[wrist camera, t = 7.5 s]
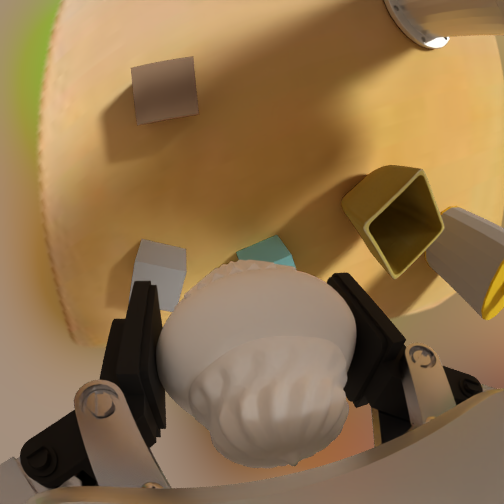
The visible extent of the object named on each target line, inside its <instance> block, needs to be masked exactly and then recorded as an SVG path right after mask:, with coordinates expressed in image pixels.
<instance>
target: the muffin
mask: <svg viewBox="0 0 504 504" xmlns="http://www.w3.org/2000/svg"><path fill="white" fill-rule="evenodd" d="M174 309H175V310H174V311H173V312H172V314H171V315H170V316H169V318H168V319H167V321H166V323H165V325H164V326H163V328H162V331H161V333H160V336H159V339H158V343H157V347H156V365H157V371H158V376H159V379H160V381H161V383H162V385H163V387H164V389H165V390H166V392H167V393H168V394H169V395H170V397H171V398H172V399H173V400H174V401H175V402H176V403H177V404H178V405H179V406H180V407H181V408H183V409H184V410H185V411H186V412H188V413H189V414H190V415H192V416H193V417H195V419H196V420H197V421H198V422H199V423H201V424H202V425H203V426H205V427H206V428H207V429H208V430H209V431H210V435H211V439H212V443H213V445H214V447H215V448H216V450H217V451H218V452H219V453H221V454H222V455H223V456H224V457H225V458H227V459H229V460H231V461H233V462H235V463H238V464H242V465H244V466H247V467H252V468H261V467H262V468H273V467H277V466H286V465H287V464H290V465H291V466H296V465H297V464H298V462H299V461H301V460H302V459H304V458H308V457H311V456H313V455H314V454H315V453H316V452H319V451H321V450H323V449H324V448H326V447H327V446H328V445H329V444H330V443H331V442H332V441H333V440H335V439H336V438H337V436H338V435H339V434H340V432H341V431H342V428H343V424H344V423H345V421H346V419H347V416H348V412H349V405H348V403H347V401H346V394H345V391H344V390H343V388H344V387H345V385H346V382H347V372H348V370H349V367H350V364H351V361H352V358H353V355H354V351H355V346H356V337H357V330H356V323H355V319H354V316H353V314H352V312H351V310H350V308H349V306H348V305H347V303H346V302H345V300H344V299H343V298H342V297H341V296H340V295H339V293H338V292H337V291H336V290H334V289H333V288H332V287H331V286H330V285H328V284H327V283H326V282H324V281H323V280H321V279H319V278H317V277H315V276H313V275H310V274H308V273H305V272H301V271H297V270H296V268H295V267H292V266H286V265H279V264H274V263H273V262H266V261H257V260H246V261H245V260H238V261H237V262H233V261H230V262H229V264H222V265H221V266H220V268H215V269H214V270H213V271H211V272H210V273H209V274H208V275H207V276H205V277H204V278H203V279H202V280H201V281H200V282H198V283H197V284H196V285H195V286H194V287H193V288H191V289H190V290H189V291H188V292H187V293H185V295H184V299H182V300H181V301H180V302H179V303H178V304H177V305H176V306H175V307H174Z"/></svg>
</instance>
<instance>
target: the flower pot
mask: <svg viewBox="0 0 504 504" xmlns="http://www.w3.org/2000/svg"><path fill="white" fill-rule="evenodd" d="M341 206H342V209H343V211H344V212H345V214H346V215H347V217H348V218H349V219H350V221H351V222H352V224H353V225H354V227H355V228H356V230H357V231H358V233H359V234H360V236H361V237H362V239H363V240H364V242H365V244H366V245H367V247H368V249H369V250H370V252H371V253H372V255H373V256H374V257H375V258H376V259H377V261H378V262H379V263H380V264H381V265H382V266H383V268H384V269H385V270H386V271H387V272H388V274H389V275H390V276H391V277H392V278H393V279H397V278H398V277H399V276H400V275H402V274H403V273H404V272H405V271H406V270H407V269H408V268H409V267H410V266H411V265H412V264H413V263H414V262H415V261H416V260H417V258H418V257H419V256H420V255H421V254H422V253H423V252H424V251H425V250H426V249H427V248H428V247H429V246H430V245H431V244H432V243H433V242H434V241H435V240H436V239H437V238H438V236H439V235H440V234H441V233H442V231H443V230H444V223H443V220H442V217H441V215H440V212H439V209H438V207H437V204H436V201H435V199H434V196H433V193H432V190H431V187H430V184H429V182H428V179H427V176H426V174H425V172H424V171H423V169H419V168H412V167H405V166H397V165H388V166H383V167H381V168H378V169H376V170H374V171H373V172H371V173H370V174H368V175H367V176H366V177H365V178H364V179H363V180H362V181H361V182H359V183H358V184H357V185H356V186H355V187H354V188H353V189H352V190H351V191H350V192H348V193H347V194H346V195H345V196H344V197H343V199H342V201H341Z"/></svg>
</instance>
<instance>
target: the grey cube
mask: <svg viewBox="0 0 504 504" xmlns="http://www.w3.org/2000/svg"><path fill="white" fill-rule="evenodd" d="M185 276H186V249H184V248H180V247H175V246H171V245H166V244H162V243H158V242H153V241H149V240H145V239H142V240H141V243H140V246H139V249H138V253H137V256H136V259H135V264H134V270H133V276H132V283H131V289H130V297H131V293H132V289H133V285H134V281H151V285H157V290H158V298H159V307H160V310H165V311H170V312H173V311H174V310H175V309H174V307H175V306H176V305H177V304H178V302H179V298H180V294H181V290H182V287H183V283H184V279H185ZM130 297H129V301H130Z"/></svg>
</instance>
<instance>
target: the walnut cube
mask: <svg viewBox="0 0 504 504" xmlns="http://www.w3.org/2000/svg"><path fill="white" fill-rule="evenodd" d="M131 74H132V85H133V95H134V103H135V112H136V119H137V125H143V124H149V123H154V122H159V121H164V120H169V119H175V118H180V117H187V116H193V115H198V114H199V110H198V100H197V91H196V81H195V71H194V60H193V57H186V58H179V59H173V60H167V61H161V62H156V63H151V64H146V65H142V66H137V67H133V68H131Z"/></svg>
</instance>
